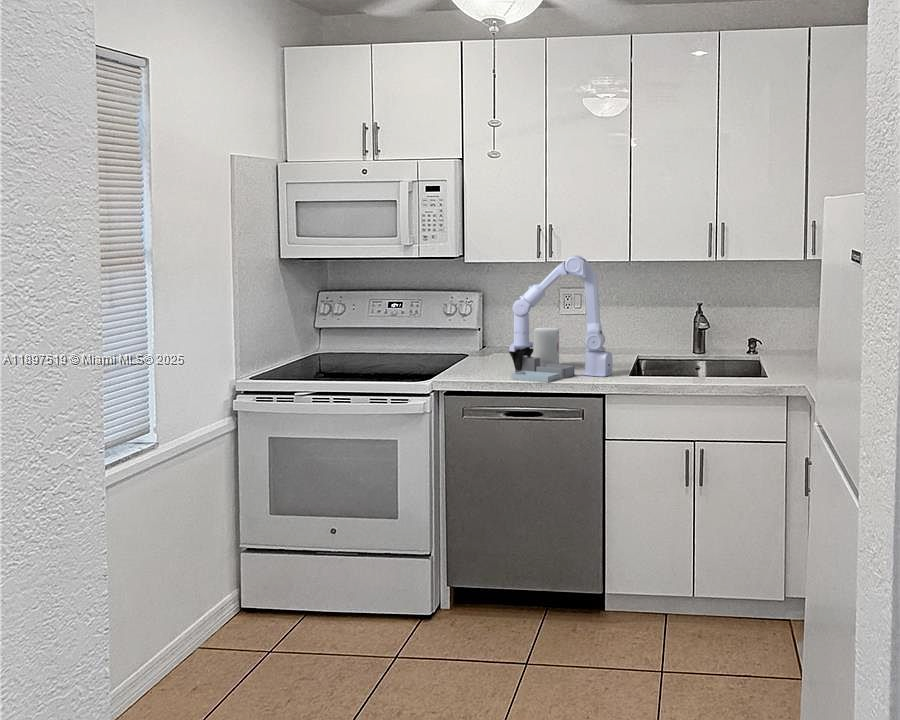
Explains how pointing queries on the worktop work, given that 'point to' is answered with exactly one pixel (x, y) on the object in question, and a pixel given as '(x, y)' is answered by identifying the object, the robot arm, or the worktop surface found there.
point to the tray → (535, 376)
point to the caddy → (529, 364)
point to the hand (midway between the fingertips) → (521, 368)
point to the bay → (557, 370)
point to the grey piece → (546, 345)
